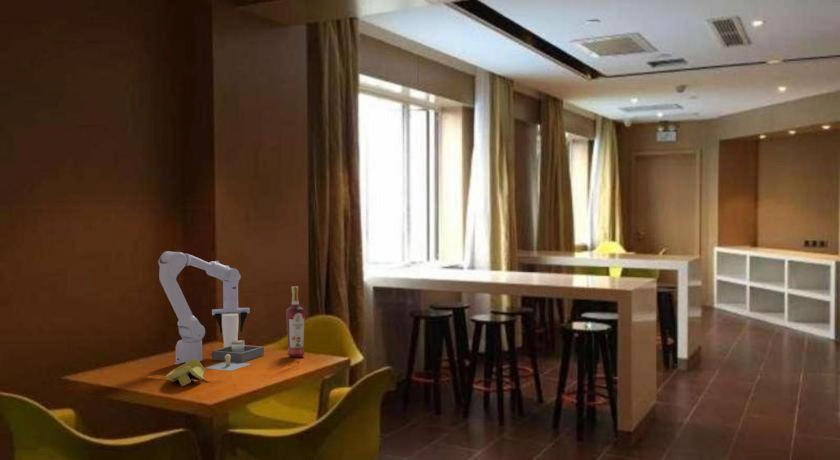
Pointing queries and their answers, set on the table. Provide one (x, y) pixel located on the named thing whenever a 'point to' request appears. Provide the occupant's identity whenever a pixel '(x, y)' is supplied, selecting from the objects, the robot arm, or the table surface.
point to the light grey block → (238, 346)
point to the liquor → (295, 327)
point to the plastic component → (187, 372)
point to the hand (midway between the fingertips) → (231, 331)
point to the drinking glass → (230, 328)
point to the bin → (248, 353)
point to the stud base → (223, 366)
